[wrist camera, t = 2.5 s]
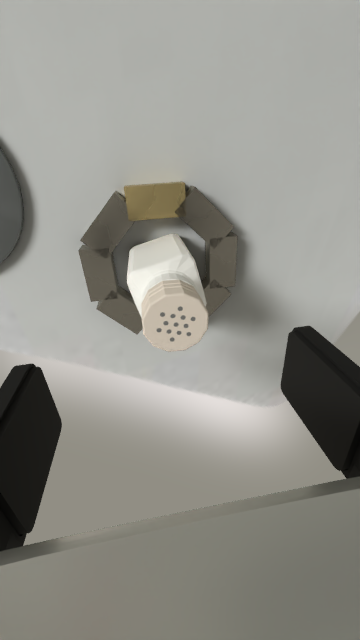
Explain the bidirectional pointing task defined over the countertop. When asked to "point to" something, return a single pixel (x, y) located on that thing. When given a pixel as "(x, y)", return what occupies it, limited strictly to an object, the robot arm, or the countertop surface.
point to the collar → (155, 205)
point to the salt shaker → (167, 293)
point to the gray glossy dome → (9, 208)
